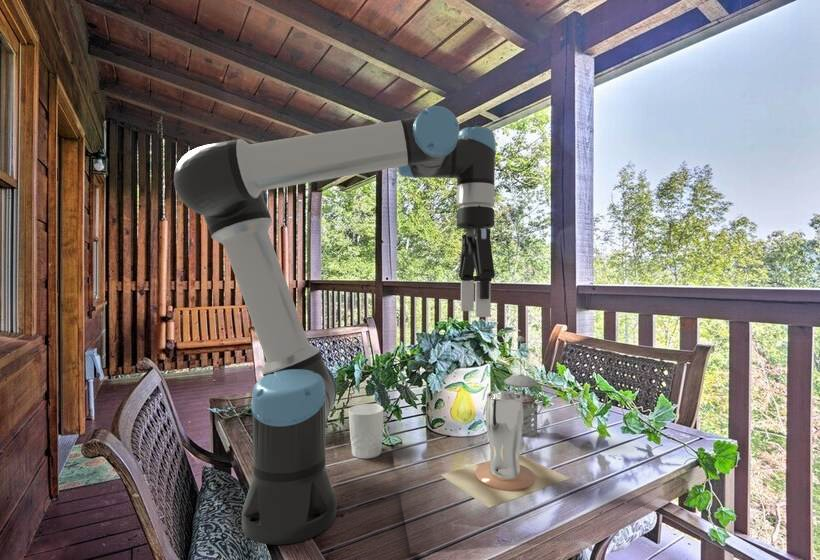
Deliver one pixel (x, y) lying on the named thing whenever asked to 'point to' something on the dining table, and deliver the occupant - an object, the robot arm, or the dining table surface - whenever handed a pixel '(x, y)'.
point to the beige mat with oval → (494, 497)
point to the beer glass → (504, 433)
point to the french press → (526, 398)
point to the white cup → (366, 430)
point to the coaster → (519, 484)
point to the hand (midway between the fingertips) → (474, 313)
